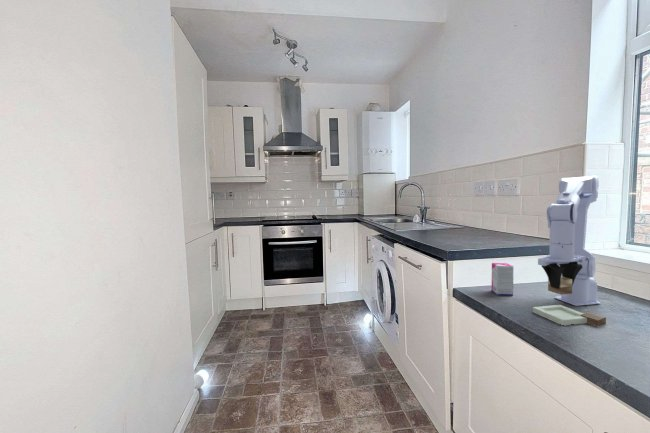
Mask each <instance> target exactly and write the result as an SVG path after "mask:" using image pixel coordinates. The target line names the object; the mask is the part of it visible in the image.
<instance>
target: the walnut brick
mask: <svg viewBox="0 0 650 433" xmlns="http://www.w3.org/2000/svg"><path fill="white" fill-rule="evenodd" d="M581 316H583V317H586V318H587V323H586V324H588V325H591V326H594V325H595V327H597V326H599V327H601V325H602V326H605V325H606V324H607V317H606V316H603V315H601V314H597V313H593V312H590V311H587V312H583V314H581Z"/></svg>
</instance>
